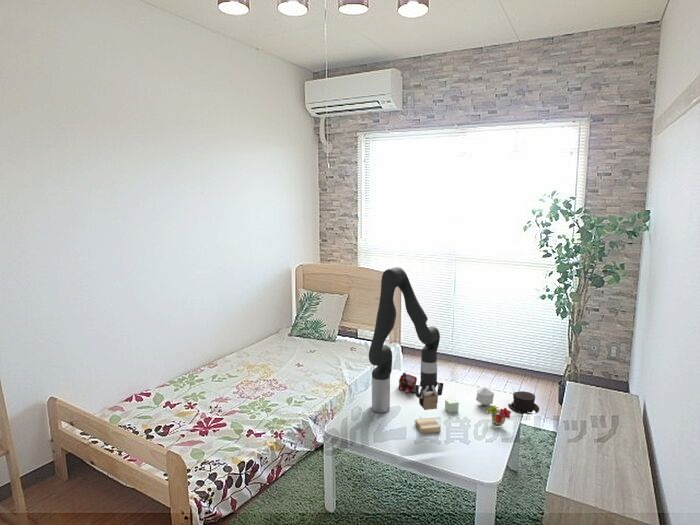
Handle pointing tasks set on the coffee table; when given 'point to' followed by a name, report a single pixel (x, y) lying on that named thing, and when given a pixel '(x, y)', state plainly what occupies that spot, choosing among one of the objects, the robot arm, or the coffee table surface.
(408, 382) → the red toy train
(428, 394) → the walnut block
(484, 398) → the die
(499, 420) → the red and green cluster
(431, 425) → the oak plinth
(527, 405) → the top hat
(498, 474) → the coffee table surface
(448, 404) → the sage green block
